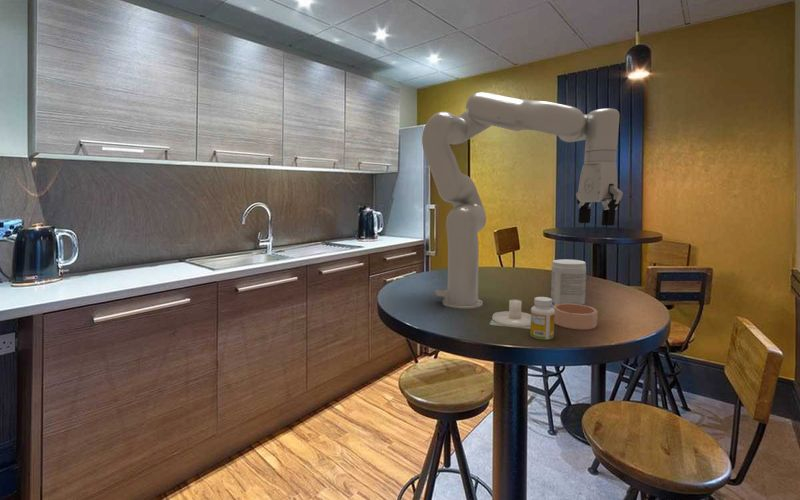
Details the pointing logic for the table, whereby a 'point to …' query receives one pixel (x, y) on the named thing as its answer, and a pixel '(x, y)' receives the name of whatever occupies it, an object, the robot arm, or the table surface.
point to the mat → (503, 325)
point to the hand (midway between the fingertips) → (595, 224)
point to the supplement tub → (568, 282)
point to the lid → (513, 316)
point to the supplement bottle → (542, 318)
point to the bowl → (575, 316)
